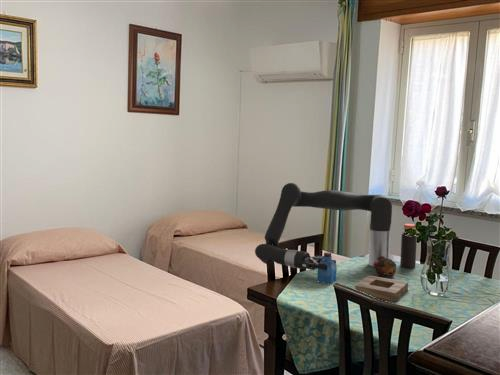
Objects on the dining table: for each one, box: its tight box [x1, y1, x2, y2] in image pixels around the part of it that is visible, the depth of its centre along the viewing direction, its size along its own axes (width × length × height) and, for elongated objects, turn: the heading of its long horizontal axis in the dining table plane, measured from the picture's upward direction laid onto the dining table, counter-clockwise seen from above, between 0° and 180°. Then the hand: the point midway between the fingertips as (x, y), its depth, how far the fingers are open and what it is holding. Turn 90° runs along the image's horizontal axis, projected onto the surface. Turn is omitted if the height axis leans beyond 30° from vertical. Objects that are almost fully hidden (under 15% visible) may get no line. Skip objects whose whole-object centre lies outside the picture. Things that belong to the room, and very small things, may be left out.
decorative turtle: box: [373, 256, 398, 278], centre depth 217 cm, size 10×15×8 cm, turn 7°
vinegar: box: [400, 223, 418, 269], centre depth 232 cm, size 7×7×20 cm
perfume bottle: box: [317, 252, 338, 285], centre depth 209 cm, size 6×6×12 cm
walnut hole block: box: [354, 275, 409, 303], centre depth 196 cm, size 16×16×4 cm
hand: (331, 265), depth 208 cm, fingers open, 8 cm apart
